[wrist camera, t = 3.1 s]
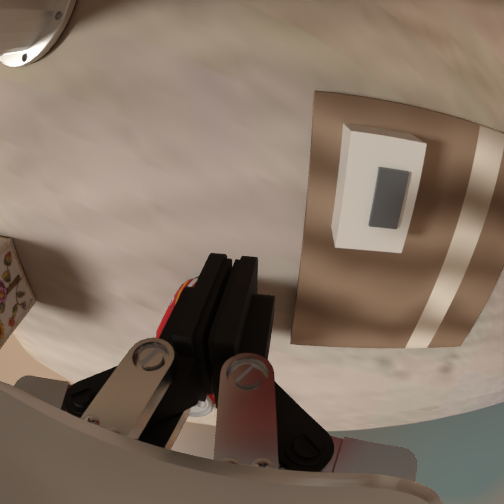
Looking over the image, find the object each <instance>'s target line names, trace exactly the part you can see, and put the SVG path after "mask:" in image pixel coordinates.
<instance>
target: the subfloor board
mask: <svg viewBox="0 0 504 504" xmlns="http://www.w3.org/2000/svg"><path fill="white" fill-rule="evenodd" d="M343 123H346V124H354V125H361V126H368V127H375V128H381V129H387V130H393V131H398V132H404V133H409V134H412V135H413V136H415V137H417V138H418V139H420V140H422V141H423V142H425V143H426V144H427V145H426V151H425V157H424V163H423V168H422V173H421V178H420V183H419V187H418V192H417V196H416V201H415V205H414V209H413V213H412V217H411V221H410V225H409V229H408V232H407V236H406V240H405V243H404V247H403V250H402V253H393V252H381V251H370V250H358V249H346V248H335V245H334V239H333V234H332V228H331V225H332V218H333V211H334V203H335V196H336V188H337V179H338V171H339V162H340V152H341V142H342V131H343ZM503 267H504V133H502V132H499V131H496V130H494V129H491V128H488V127H485V126H482V125H479V124H476V123H473V122H470V121H467V120H464V119H461V118H457V117H454V116H450V115H447V114H443V113H439V112H436V111H432V110H428V109H424V108H419V107H415V106H411V105H406V104H401V103H396V102H391V101H386V100H380V99H375V98H369V97H362V96H355V95H348V94H340V93H332V92H322V91H314V100H313V120H312V136H311V151H310V165H309V178H308V190H307V201H306V212H305V223H304V232H303V242H302V251H301V260H300V269H299V277H298V285H297V293H296V301H295V309H294V316H293V323H292V330H291V342H290V344H296V345H310V346H328V347H352V348H435V347H457V346H461V344H462V343H463V341H464V340H465V338H466V336H467V335H468V333H469V331H470V330H471V328H472V326H473V325H474V323H475V321H476V320H477V318H478V316H479V314H480V313H481V311H482V309H483V307H484V305H485V304H486V302H487V300H488V298H489V296H490V294H491V292H492V290H493V288H494V286H495V284H496V282H497V280H498V278H499V276H500V274H501V271H502V269H503Z"/></svg>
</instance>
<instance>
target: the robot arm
mask: <svg viewBox="0 0 504 504" xmlns="http://www.w3.org/2000/svg"><path fill="white" fill-rule="evenodd" d="M75 2H76V0H0V61H1V62H2V63H3V64H4V65H6V66H8V67H16V68H17V67H22V66H27V65H29V64H32V63H34V62H35V61H37V60H38V59H40V58H41V57H42V56H43V55H44V54H46V53H47V52H48V51H49V50H50V48H51V47H52V46H53V45H54V44H55V42H56V41H57V39H58V38H59V36H60V35H61V33H62V32H63V30H64V28H65V26H66V24H67V23H68V21H69V19H70V16H71V14H72V11H73V9H74V6H75ZM257 274H258V258H257V257H249V256H242V257H241V259H240V260H237V259H236V260H235V262H234V265H233V268H232V259H227V255H226V254H216V253H210V255H209V257H208V259H207V261H206V263H205V265H204V267H203V269H202V271H201V273H200V275H199V277H198V279H197V281H196V284H195V286H194V287H190V286H186V287H184V289H183V291H182V292H181V294H180V296H179V298H178V300H177V302H176V304H175V306H174V308H173V310H172V312H171V314H170V316H169V318H168V320H167V322H166V324H165V326H164V328H163V330H162V332H161V334H160V336H159V338H147V339H144V340H141V341H139V342H138V343H136V344H135V345H134V346H133V347H132V348H131V349H130V350H129V352H128V353H127V354H126V356H125V357H124V358H123V360H122V361H121V362H120V364H119V365H118V366H116V367H113V368H111V369H109V370H106V371H104V372H101V373H99V374H96V375H94V376H91V377H89V378H86V379H84V380H81V381H79V382H77V383H75V384H73V385H71V384H70V383H69V382H67V381H59V380H53V379H47V378H41V377H35V376H24V377H22V378H20V379H19V380H18V381H17V382H16V384H15V385H14V386H12V385H10V384H7V383H4V382H1V381H0V504H443V503H442V501H441V499H440V497H439V496H438V494H437V493H436V492H435V491H433V490H432V489H430V488H428V487H426V486H424V485H422V484H420V483H417V482H415V478H416V472H417V459H416V457H415V455H414V454H413V453H412V452H411V451H410V450H409V449H406V448H403V447H398V446H391V445H385V444H379V443H374V442H368V441H363V440H358V439H353V438H348V437H344V438H343V439H341V438H336V437H332V436H330V435H329V434H328V433H327V431H326V430H324V429H323V428H322V427H321V426H320V425H319V424H318V423H317V422H316V421H315V420H314V419H313V418H312V417H311V416H309V415H308V414H307V413H306V412H305V411H304V410H303V409H302V408H301V407H300V406H299V405H298V404H297V403H296V402H295V401H294V400H293V399H292V398H291V397H290V396H289V395H288V394H287V393H286V392H285V391H284V390H283V389H282V388H281V387H280V386H279V385H278V384H277V383H276V382H275V381H274V371H273V367H272V365H271V364H270V362H269V361H268V360H267V359H268V353H269V346H270V340H271V333H272V325H273V316H274V303H275V296H270V295H260V294H257ZM213 392H214V397H215V403H216V408H217V421H216V434H215V448H214V460H211V459H207V458H202V457H197V456H193V455H189V454H184V453H180V452H176V451H172V450H171V448H172V446H173V444H174V442H175V440H176V439H177V437H178V435H179V433H180V431H181V429H182V427H183V425H184V423H185V421H186V419H187V417H188V416H189V413H190V410H191V407H193V406H195V405H197V404H198V401H202V402H205V401H206V397H207V394H210V395H212V394H213Z"/></svg>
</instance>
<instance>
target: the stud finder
mask: <svg viewBox="0 0 504 504" xmlns="http://www.w3.org/2000/svg"><path fill="white" fill-rule="evenodd" d="M426 145H427V144H426V143H425V142H423V141H422V140H420V139H418V138H417V137H415V136H413V135H412V134H409V133H404V132H398V131H393V130H387V129H381V128H375V127H368V126H361V125H354V124H346V123H343V131H342V142H341V152H340V162H339V171H338V179H337V188H336V196H335V203H334V211H333V218H332V225H331V228H332V234H333V239H334V245H335V248H346V249H358V250H370V251H381V252H393V253H402V250H403V247H404V243H405V240H406V236H407V232H408V229H409V225H410V221H411V217H412V213H413V209H414V205H415V201H416V196H417V192H418V187H419V183H420V178H421V173H422V168H423V163H424V157H425V151H426Z"/></svg>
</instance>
